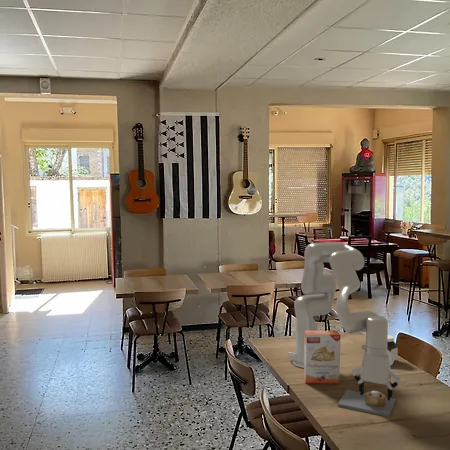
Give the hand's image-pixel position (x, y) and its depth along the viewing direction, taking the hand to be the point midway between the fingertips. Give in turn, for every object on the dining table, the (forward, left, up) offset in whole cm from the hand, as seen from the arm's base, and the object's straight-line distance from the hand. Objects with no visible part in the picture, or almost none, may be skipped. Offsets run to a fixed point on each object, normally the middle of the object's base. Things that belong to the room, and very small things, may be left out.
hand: (375, 396), depth 174 cm
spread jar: (-4, +49, -4) cm, 49 cm away
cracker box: (-24, +13, -4) cm, 28 cm away
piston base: (-3, 0, -4) cm, 5 cm away
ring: (0, 0, -2) cm, 2 cm away
